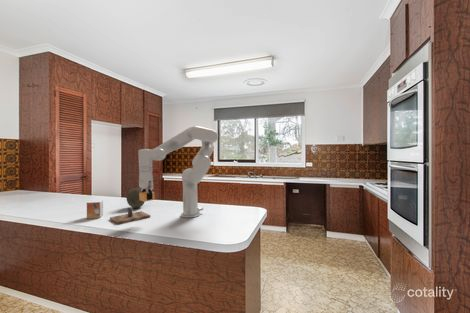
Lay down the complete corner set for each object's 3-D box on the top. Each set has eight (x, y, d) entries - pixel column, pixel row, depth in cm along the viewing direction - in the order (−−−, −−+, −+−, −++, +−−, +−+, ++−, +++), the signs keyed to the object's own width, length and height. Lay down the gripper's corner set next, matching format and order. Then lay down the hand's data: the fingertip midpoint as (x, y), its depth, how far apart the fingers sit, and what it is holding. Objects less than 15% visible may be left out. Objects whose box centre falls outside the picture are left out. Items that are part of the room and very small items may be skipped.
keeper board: (141, 213, 155) (141, 203, 155) (150, 217, 145) (150, 206, 145) (109, 219, 141) (109, 208, 141) (117, 224, 131) (117, 212, 131)
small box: (86, 218, 143) (86, 202, 143) (90, 216, 149) (90, 200, 148) (100, 218, 145) (99, 202, 145) (103, 215, 150) (103, 200, 150)
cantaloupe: (150, 206, 174) (149, 187, 173) (133, 211, 162) (133, 190, 161) (138, 204, 181) (138, 186, 181) (122, 208, 169) (121, 188, 169)
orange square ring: (150, 198, 140) (149, 191, 140) (154, 199, 136) (154, 192, 135) (139, 200, 136) (139, 192, 135) (144, 201, 131) (143, 194, 131)
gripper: (133, 169, 138) (135, 197, 139) (145, 170, 126) (147, 201, 127) (145, 168, 144) (147, 195, 144) (158, 169, 132) (159, 199, 132)
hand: (147, 198), depth 136 cm, fingers closed on orange square ring, 6 cm apart
